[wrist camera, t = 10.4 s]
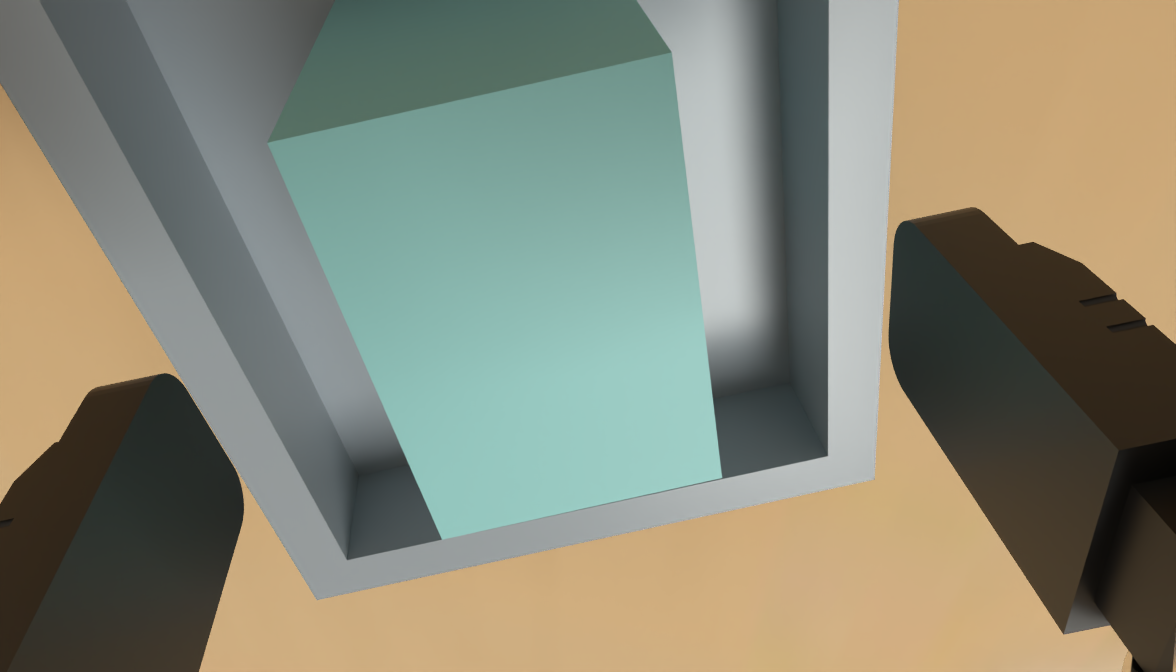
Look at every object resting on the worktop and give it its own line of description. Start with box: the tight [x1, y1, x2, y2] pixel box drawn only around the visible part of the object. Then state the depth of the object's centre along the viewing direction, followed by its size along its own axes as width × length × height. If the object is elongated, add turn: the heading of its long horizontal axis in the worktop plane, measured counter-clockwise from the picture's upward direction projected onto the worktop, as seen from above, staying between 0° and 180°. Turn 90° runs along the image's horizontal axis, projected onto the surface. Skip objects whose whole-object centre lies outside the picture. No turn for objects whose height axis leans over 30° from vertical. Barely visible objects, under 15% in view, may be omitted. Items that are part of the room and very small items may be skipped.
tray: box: [0, 0, 899, 600], centre depth 14 cm, size 12×16×3 cm
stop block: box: [267, 0, 722, 540], centre depth 12 cm, size 4×6×6 cm, turn 10°
